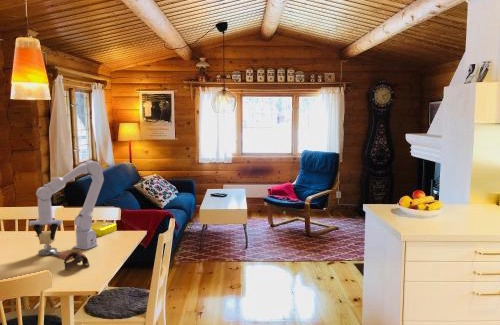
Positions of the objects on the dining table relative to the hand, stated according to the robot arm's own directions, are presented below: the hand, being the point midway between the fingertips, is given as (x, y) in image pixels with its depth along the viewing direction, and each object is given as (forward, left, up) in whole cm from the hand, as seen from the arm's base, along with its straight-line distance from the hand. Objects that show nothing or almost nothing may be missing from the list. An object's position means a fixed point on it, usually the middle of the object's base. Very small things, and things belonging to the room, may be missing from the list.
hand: (47, 239), depth 195 cm
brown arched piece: (-28, +7, -7) cm, 30 cm away
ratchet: (-7, 0, -7) cm, 10 cm away
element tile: (+5, -37, -8) cm, 39 cm away
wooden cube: (0, 0, -2) cm, 2 cm away
